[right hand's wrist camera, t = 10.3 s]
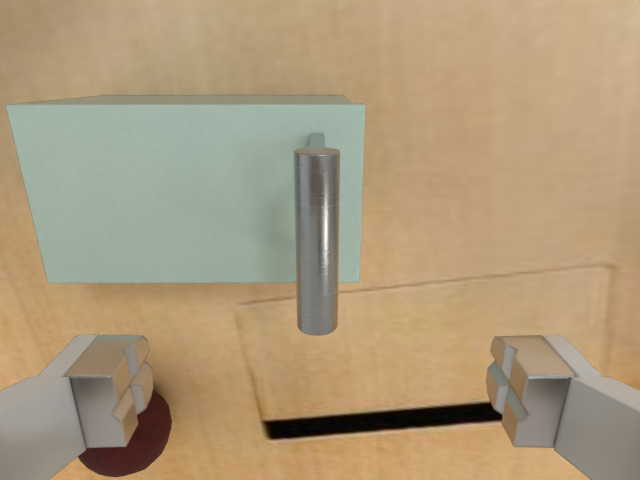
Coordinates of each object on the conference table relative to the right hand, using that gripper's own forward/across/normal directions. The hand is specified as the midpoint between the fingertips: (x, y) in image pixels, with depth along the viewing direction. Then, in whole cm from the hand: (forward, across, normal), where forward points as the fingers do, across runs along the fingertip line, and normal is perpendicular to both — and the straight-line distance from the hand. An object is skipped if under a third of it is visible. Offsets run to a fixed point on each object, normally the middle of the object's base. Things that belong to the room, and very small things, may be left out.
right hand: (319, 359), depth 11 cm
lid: (+15, +7, 0) cm, 16 cm away
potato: (+25, +17, +23) cm, 38 cm away
